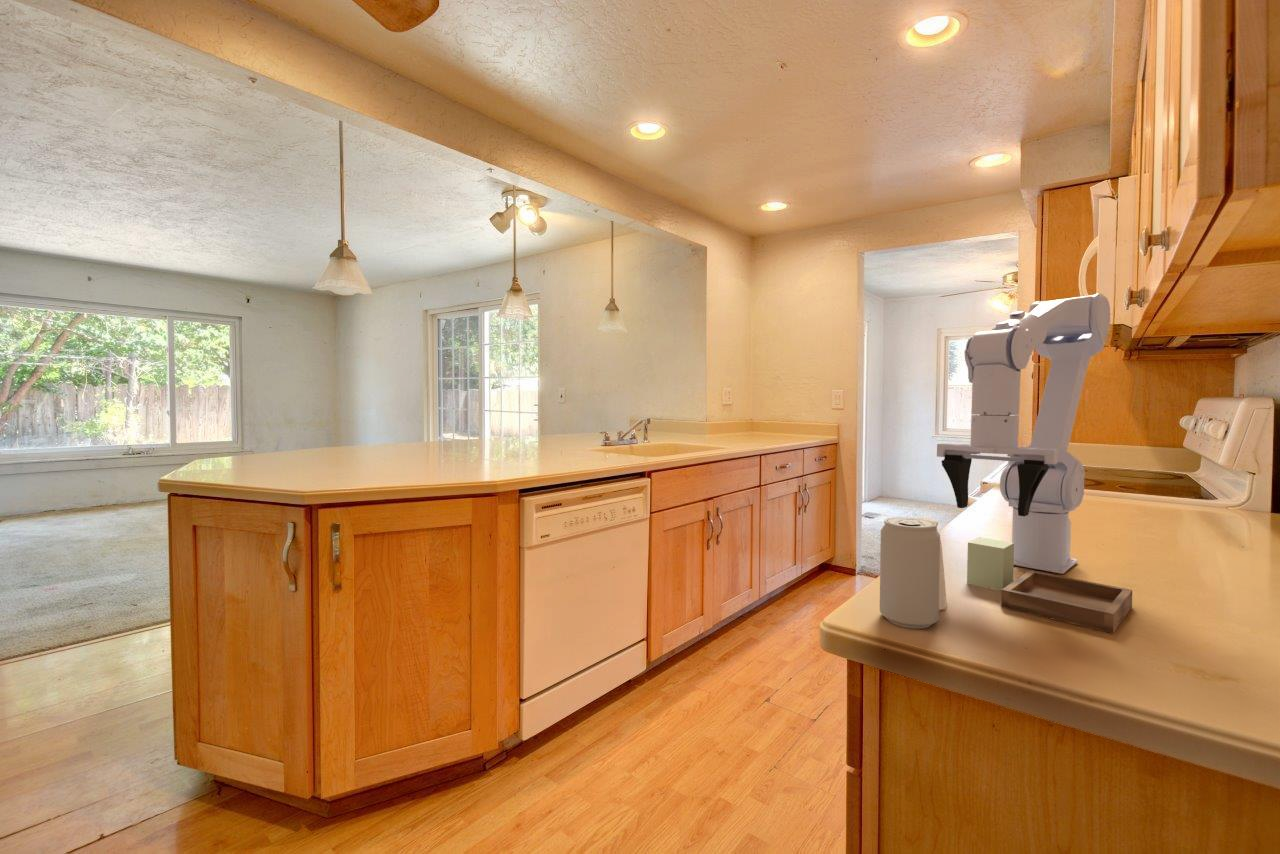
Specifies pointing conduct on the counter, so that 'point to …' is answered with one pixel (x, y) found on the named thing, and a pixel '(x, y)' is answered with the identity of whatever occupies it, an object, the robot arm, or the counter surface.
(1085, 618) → the walnut tray
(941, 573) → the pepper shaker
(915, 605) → the beverage can
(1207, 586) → the counter surface
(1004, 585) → the sage block
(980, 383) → the robot arm
